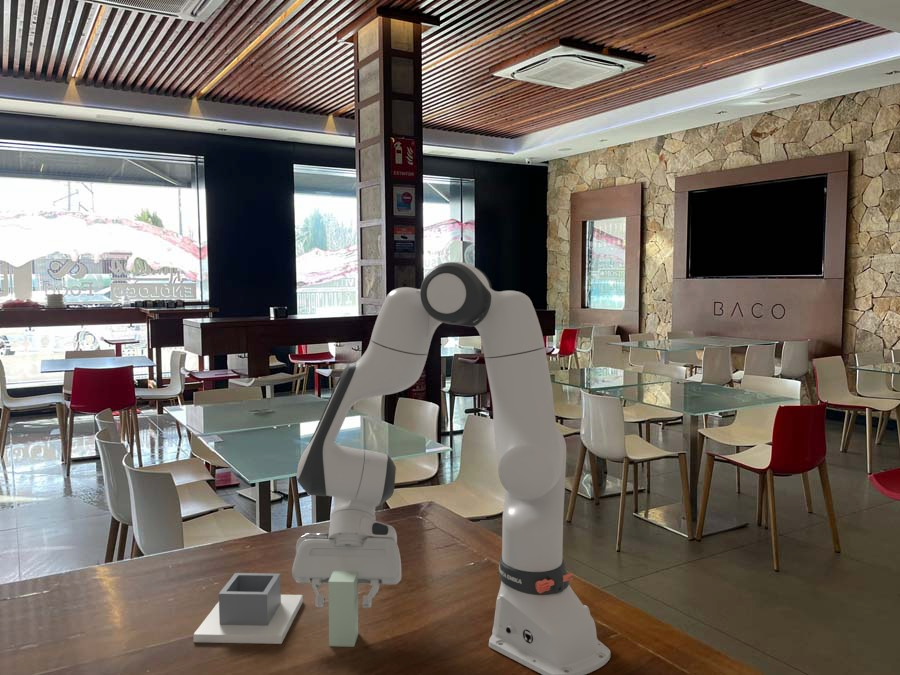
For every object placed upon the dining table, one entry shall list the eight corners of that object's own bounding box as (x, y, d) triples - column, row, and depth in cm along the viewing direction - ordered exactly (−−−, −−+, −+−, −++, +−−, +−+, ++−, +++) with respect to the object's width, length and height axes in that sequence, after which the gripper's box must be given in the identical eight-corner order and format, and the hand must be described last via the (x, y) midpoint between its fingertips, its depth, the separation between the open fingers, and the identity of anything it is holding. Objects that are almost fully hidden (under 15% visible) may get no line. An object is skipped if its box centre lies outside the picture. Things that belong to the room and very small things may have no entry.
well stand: (224, 600, 140) (223, 565, 140) (302, 602, 140) (302, 566, 139) (193, 642, 125) (192, 602, 124) (281, 643, 124) (280, 603, 123)
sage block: (334, 633, 128) (333, 570, 127) (358, 633, 128) (357, 571, 127) (329, 646, 123) (328, 581, 122) (354, 646, 123) (353, 581, 122)
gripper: (295, 526, 131) (282, 599, 122) (402, 527, 131) (397, 601, 122) (301, 539, 136) (289, 611, 127) (404, 541, 135) (399, 613, 127)
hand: (343, 606), depth 124 cm, fingers open, 7 cm apart
